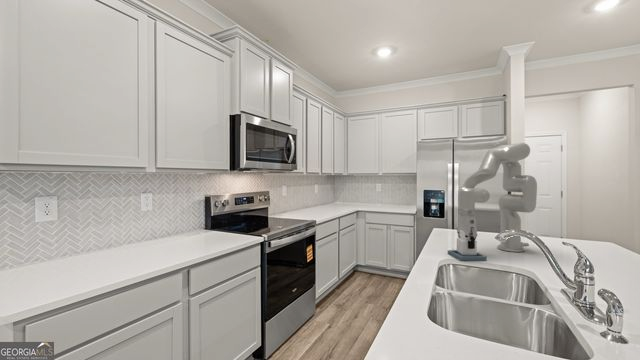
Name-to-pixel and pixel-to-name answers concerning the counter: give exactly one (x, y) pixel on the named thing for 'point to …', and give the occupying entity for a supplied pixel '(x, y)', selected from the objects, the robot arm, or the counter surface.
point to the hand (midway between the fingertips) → (466, 246)
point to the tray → (467, 256)
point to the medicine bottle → (465, 245)
